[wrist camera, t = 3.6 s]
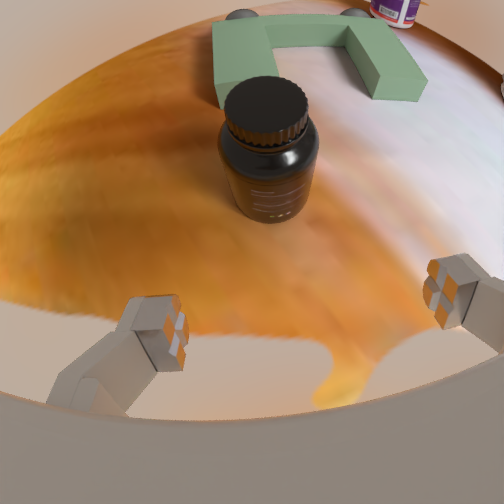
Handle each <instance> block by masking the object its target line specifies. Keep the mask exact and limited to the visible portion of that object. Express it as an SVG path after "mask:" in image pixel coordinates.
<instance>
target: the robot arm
mask: <svg viewBox="0 0 504 504" xmlns="http://www.w3.org/2000/svg"><path fill="white" fill-rule="evenodd" d="M502 77H503V83H502V84H501V92H502V95H503V97H504V74H503V75H502ZM427 272H428V274H429V276H428V278H427V279H426V280H425V281H424V286H423V298H424V301H425V303H426V305H427V306H428V308H429V309H431V310H433V311H435V316H434V317H435V319H436V320H437V322H438V323H439V325H440V326H441V328H442V330H446V329H449V328H453V327H457V326H460V325H462V327H464V328H465V329H467V330H468V331H469V332H471V333H472V334H474V335H475V336H476V337H478V338H479V339H481V340H482V341H483V342H485V343H486V344H487V345H489V346H490V347H492V348H493V349H494V350H496V351H497V352H499V354H498V355H497V356H495V357H493V358H491V359H489V360H487V361H485V362H483V363H480V364H478V365H475V366H473V367H471V368H469V369H466V370H464V371H461V372H459V373H456V374H454V375H451V376H448V377H445V378H443V379H440V380H437V381H434V382H432V383H429V384H426V385H423V386H420V387H416V388H413V389H410V390H407V391H403V392H400V393H396V394H393V395H389V396H385V397H382V398H378V399H374V400H370V401H366V402H361V403H356V404H352V405H347V406H342V407H337V408H332V409H326V410H320V411H314V412H308V413H301V414H293V415H286V416H277V417H267V418H255V419H239V420H214V421H183V420H156V419H142V418H131V417H129V416H128V415H127V414H126V413H125V412H126V411H127V409H128V408H129V407H130V406H131V405H132V404H133V402H134V401H135V400H136V399H137V398H138V396H139V395H140V394H141V393H142V392H143V390H144V389H145V388H146V387H147V386H148V384H149V383H150V382H151V381H152V380H153V378H154V377H155V376H156V375H157V372H173V371H183V367H184V361H185V355H186V354H185V352H184V349H183V348H184V347H185V346H186V345H187V344H188V339H189V327H188V323H187V319H186V316H185V315H184V314H183V313H182V312H180V307H181V303H180V300H179V297H178V296H177V295H176V294H168V295H154V296H141V297H132V298H131V299H129V301H128V304H127V306H126V308H125V310H124V312H123V314H122V317H121V319H120V321H119V323H118V325H117V328H116V330H115V332H110V333H109V334H107V335H106V336H105V337H104V338H102V339H101V340H100V341H98V342H97V343H96V344H95V345H94V346H92V347H91V348H90V349H89V350H87V351H86V352H85V353H84V354H82V355H81V356H80V357H78V358H77V359H76V360H75V361H74V362H72V363H71V364H70V365H69V366H67V367H66V368H65V369H64V370H62V371H61V372H60V373H59V374H58V377H57V379H56V381H55V383H54V385H53V388H52V390H51V392H50V394H49V397H48V399H47V401H46V404H45V403H41V402H37V401H33V400H29V399H26V398H22V397H18V396H15V395H12V394H8V393H5V392H2V391H0V504H504V281H503V280H500V279H498V278H496V277H492V278H491V277H490V276H489V274H488V273H487V272H486V271H485V270H484V269H483V268H482V267H481V266H480V265H479V264H478V263H477V262H476V261H475V260H474V259H473V258H472V257H471V256H470V255H468V254H466V253H460V254H456V255H453V256H449V257H443V258H438V259H433V260H430V262H429V264H428V268H427Z"/></svg>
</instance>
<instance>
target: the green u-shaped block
mask: <svg viewBox="0 0 504 504" xmlns="http://www.w3.org/2000/svg"><path fill="white" fill-rule="evenodd" d="M212 38H213V66H214V85H215V89H216V93H217V97H218V101H219V105H220V109H224V105H225V104H224V101H225V99H226V96H227V94H229V92H230V90H231V89H233V88H234V86H235V85H238V84H239V83H240V82H242V81H245V80H246V79H250V78H252V77H258V76H268V75H270V76H277V77H279V73H278V69H277V66H276V62H275V59H274V55H273V52H272V49H271V48H281V47H302V46H338V47H345V48H346V50H347V52H348V53H349V55H350V57H351V59H352V61H353V62H354V64H355V66H356V68H357V70H358V72H359V74H360V76H361V77H362V79H363V81H364V83H365V85H366V87H367V89H368V92H369V94H370V96H371V98H372V99H380V100H399V101H413V102H418V100H419V98H420V96H421V94H422V92H423V90H424V88H425V86H426V84H427V82H428V80H427V78H426V77H425V75H424V74H423V72H422V71H421V69H420V68H419V66H418V65H417V63H416V62H415V60H414V59H413V58H412V56H411V55H410V53H409V52H408V51H407V49H406V48H405V46H404V45H403V44H402V43H401V41H400V40H399V39H398V37H397V36H396V35H395V34H394V32H393V31H392V30H391V29H390V27H389V26H388V25H387V24H386V23H385V21H384V20H382V19H375V18H370V16H369V15H368V14H367V13H366V12H365V11H364V10H362V9H359V8H350V9H347V10H345V11H343V12H342V13H341V14H340V15H325V14H289V15H269V16H259V15H258V14H257V13H256V12H254V11H252V10H249V9H239V10H235V11H233V12H231V13H230V14H229V15H228V16H227V17H226V19H225V20H224V21H217V22H212Z"/></svg>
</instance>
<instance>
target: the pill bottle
mask: <svg viewBox="0 0 504 504" xmlns="http://www.w3.org/2000/svg"><path fill="white" fill-rule="evenodd" d="M419 4H420V0H371V4H370V12H371V14H372V15H373V16H374V17H375V18H376V19H382V20H384V21H385V23H386V24H387V25H389V26H392V27H396V28H410V27H411V26H412V25H413V23H414V20H415V16H416V13H417V10H418V7H419Z"/></svg>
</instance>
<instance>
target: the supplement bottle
mask: <svg viewBox="0 0 504 504" xmlns="http://www.w3.org/2000/svg"><path fill="white" fill-rule="evenodd" d="M224 104H225V105H224V112H225V117H226V120H225V121H224V123H223V124H222V126H221V129H220V131H219V135H218V150H219V155H220V158H221V161H222V164H223V167H224V170H225V173H226V176H227V179H228V182H229V184H230V187H231V190H232V193H233V196H234V199H235V201H236V203H237V205H238V207H239V208H240V210H241V211H242V212H243V213H244V214H245V215H247V216H248V217H249V218H251V219H253V220H255V221H258V222H262V223H268V224H274V223H281V222H284V221H287V220H289V219H291V218H293V217H294V216H295V215H297V214H298V213H299V212H300V211H301V210H302V208H303V207H304V205H305V203H306V201H307V199H308V195H309V191H310V187H311V182H312V177H313V173H314V168H315V164H316V159H317V154H318V149H319V136H318V132H317V129H316V127H315V125H314V123H313V121H312V120H311V119H310V117H309V115H308V107H309V106H308V99H307V98H306V97H305V93H304V92H303V91H302V89H301V88H300V87H298V86H297V84H295V83H292V82H291V81H290V80H286V79H285V78H280V77H277V76H270V75H268V76H258V77H252V78H250V79H246V80H245V81H242V82H240V83H239V84H238V85H235V86H234V88H233V89H231V90H230V92H229V94H227V96H226V99H225V101H224Z"/></svg>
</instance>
